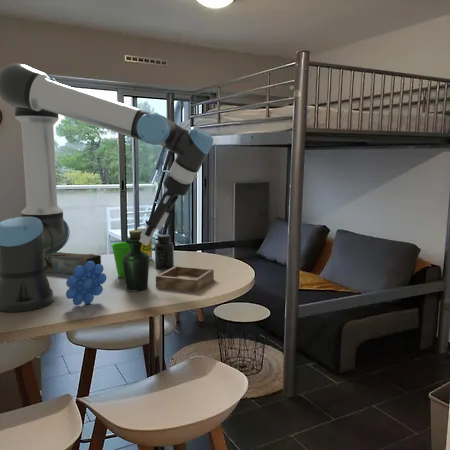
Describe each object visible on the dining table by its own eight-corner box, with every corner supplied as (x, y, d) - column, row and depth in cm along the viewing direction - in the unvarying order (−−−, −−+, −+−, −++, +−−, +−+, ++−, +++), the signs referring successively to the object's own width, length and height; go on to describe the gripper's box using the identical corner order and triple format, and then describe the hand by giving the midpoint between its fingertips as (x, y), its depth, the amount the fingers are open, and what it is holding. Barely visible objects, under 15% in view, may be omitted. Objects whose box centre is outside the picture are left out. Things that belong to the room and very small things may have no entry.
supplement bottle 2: (177, 267, 159) (177, 235, 157) (163, 270, 154) (162, 237, 153) (166, 264, 164) (165, 233, 162) (151, 267, 159) (150, 235, 157)
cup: (133, 280, 142) (132, 247, 141) (107, 278, 144) (106, 246, 142) (143, 273, 151) (142, 242, 149) (119, 271, 153) (118, 241, 151)
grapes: (100, 295, 126) (98, 255, 124) (111, 301, 121) (109, 260, 119) (60, 304, 118) (58, 262, 117) (70, 311, 114) (68, 266, 112)
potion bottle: (141, 282, 139) (139, 228, 137) (155, 288, 133) (154, 231, 131) (118, 287, 134) (116, 230, 131) (132, 293, 128) (130, 234, 125)
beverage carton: (59, 267, 160) (58, 249, 159) (102, 271, 154) (102, 253, 153) (43, 272, 153) (42, 254, 152) (88, 277, 147) (88, 258, 146)
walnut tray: (156, 287, 135) (155, 276, 134) (175, 275, 148) (175, 265, 147) (197, 291, 130) (196, 280, 130) (213, 279, 143) (213, 269, 143)
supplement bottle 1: (141, 261, 168) (140, 229, 166) (132, 259, 172) (131, 227, 170) (155, 259, 172) (154, 227, 170) (145, 256, 177) (144, 225, 175)
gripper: (181, 195, 116) (148, 256, 123) (199, 175, 139) (171, 228, 147) (156, 181, 116) (125, 243, 123) (179, 164, 139) (151, 217, 146)
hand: (150, 235), depth 135 cm, fingers open, 13 cm apart
